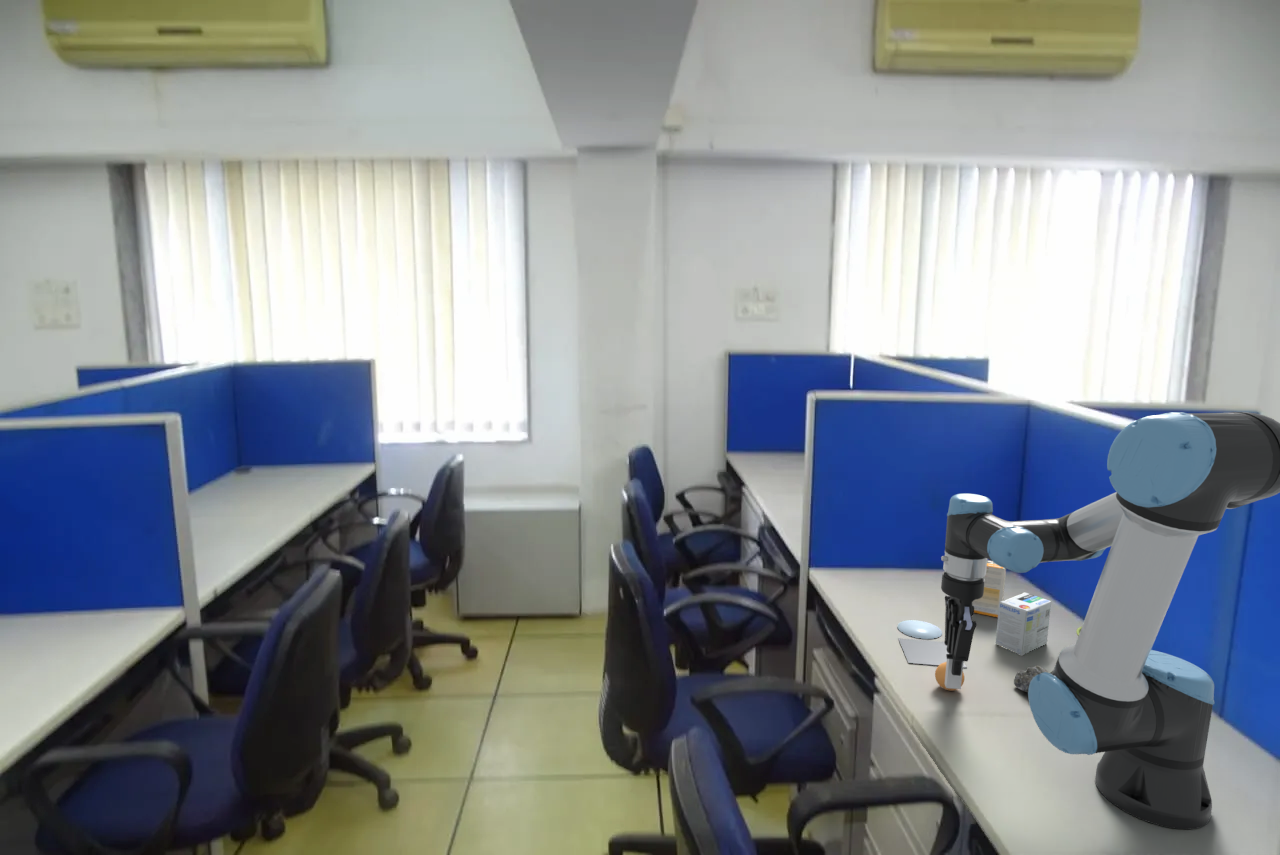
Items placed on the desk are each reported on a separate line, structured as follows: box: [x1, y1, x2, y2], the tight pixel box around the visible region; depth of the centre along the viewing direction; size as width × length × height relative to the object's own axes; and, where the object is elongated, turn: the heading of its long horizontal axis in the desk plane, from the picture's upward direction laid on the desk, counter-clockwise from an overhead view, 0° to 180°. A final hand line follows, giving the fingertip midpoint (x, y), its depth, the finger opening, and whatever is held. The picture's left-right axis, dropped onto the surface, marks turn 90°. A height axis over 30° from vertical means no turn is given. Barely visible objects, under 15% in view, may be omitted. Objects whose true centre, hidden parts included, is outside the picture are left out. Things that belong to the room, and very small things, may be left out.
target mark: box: [898, 637, 968, 669], centre depth 164 cm, size 12×12×1 cm
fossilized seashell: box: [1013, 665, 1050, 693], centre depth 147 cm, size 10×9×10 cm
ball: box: [934, 662, 965, 692], centre depth 148 cm, size 6×6×6 cm
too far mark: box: [897, 619, 943, 640], centre depth 176 cm, size 10×10×1 cm
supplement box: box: [972, 559, 1007, 618], centre depth 185 cm, size 8×5×13 cm, turn 58°
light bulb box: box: [995, 591, 1052, 656], centre depth 168 cm, size 11×7×11 cm, turn 123°
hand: (952, 686), depth 145 cm, fingers closed
